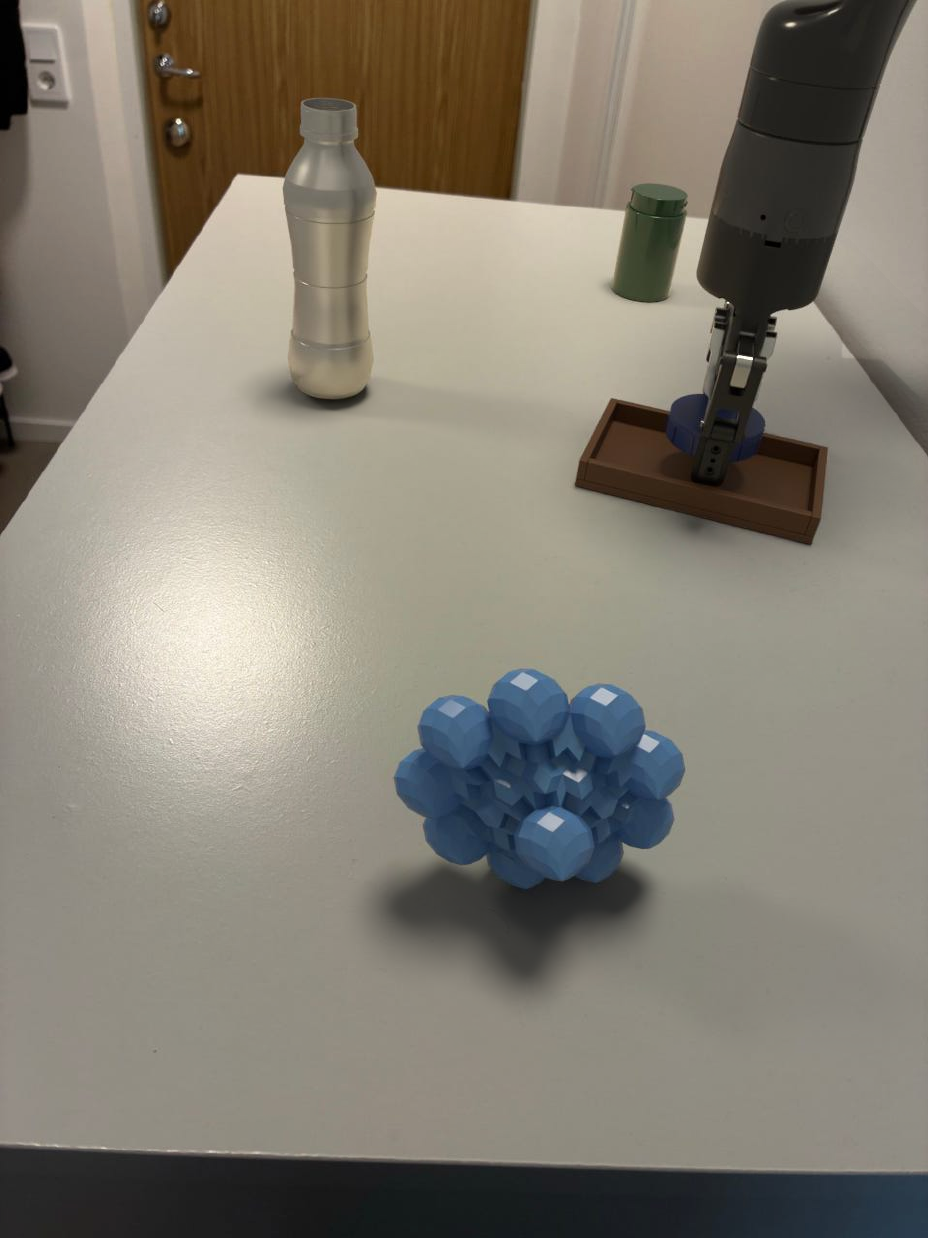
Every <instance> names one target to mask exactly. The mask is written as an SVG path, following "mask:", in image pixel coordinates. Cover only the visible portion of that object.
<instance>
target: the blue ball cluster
mask: <svg viewBox="0 0 928 1238" xmlns="http://www.w3.org/2000/svg"><path fill="white" fill-rule="evenodd" d="M486 703H487V707H488V709H487V707H485V705H483V704H482V703H479V702H477V701H475V700H474V699H471V698H470V697H468V696H464V695H456V694H450V695H446V696H441V697H438V698H436V699H435V700H434V701H433V702H432V703H431V704H429V705H428V706H427V707H425V709H423V711H422V713H421V716H420V718H419V721H418V724H417V727H416V728H417V734H418V737H419V744H420V746H421V748H418V749H414V750H413V751H411V752H410V753H408V755H406V756H405V757H404V758H403V759H401V760H400V761H399V762H398V764H397V765H398V766H397V768H396V769H395V772H394V775H393V782H394V786H395V792H396V795H397V796H398V798H399V799H400V800H401V801H402V803H403V804H404V805H405V806H406V808H407V809H408V810H410V811H412V812H414V813H416V814H417V815H418V816H421V817H422V818H424V821H423V822H422V829H423V835H424V839H425V842H426V844H427V845H428V846H429V847H430V848H431V850H432V851H433V852H434V853H435V854H436V855H437V856H438V857H441V858H442V859H444V860H446V861H447V862H449V863H452V864H455V865H459V866H468V865H472V864H474V863H477V862H478V861H481V860H482V859H483V858H484V857H486V862H487V866H488V867H489V868H490V869H491V871H492V872H493V873H494V874H495V876H496V877H497V878H498V879H500V880H502V881H503V882H505V883H507V884H509V885H510V886H513V887H515V888H519V889H523V890H528V889H532V888H533V887H536V886H537V885H540V884H541V883H542V882H544V881H545V880H546V879H548V880H552V881H557V882H564V881H567V880H570V879H571V878H573V877H575V878H577V879H579V880H582V881H586V882H589V883H600V882H602V881H604V880H606V879H607V878H609V877H610V876H611V875H612V874H613V873H614V872H616V870H617V869H618V868H619V867H620V865H621V862H622V859H623V857H624V854H625V851H624V846H623V844H624V845H626V846H628V847H631V848H635V849H639V850H649V849H652V848H654V847H656V846H658V845H660V844H661V843H662V842H663V841H664V840H665V839H666V838H667V837H668V836H669V835H670V833H671V830H672V827H673V824H674V822H675V816H674V815H675V814H674V810H673V804H672V802H671V801H670V800H669V798H668V797H670V796H671V795H672V794H673V793H674V792H675V791H676V790H677V789H678V788H679V787H680V786H681V783H682V780H683V778H684V776H685V772H686V766H685V760H684V755H683V753H682V751H681V750H680V749H679V747H678V746H677V745H676V744H675V743H674V741H673V740H672V739H671V738H668V737H666V736H664V735H662V734H660V733H658V732H657V731H655V730H647V729H646V728H647V725H646V719H645V713H644V709H643V707H642V706H641V705H640V704H639V702H638V701H637V700H636V699H635V697H634V696H633V695H632V694H631V693H629V692H628V691H626V690H624V689H622V688H621V687H618V686H616V685H614V684H612V683H611V684H610V683H595V684H592V685H588V686H586V687H584V688H582V689H581V690H580V691H579V692H578V693H576V694H575V695H574V696H573V697H572V698H571V699H570V701H569V697H568V694H567V693H566V691H565V690H564V689H563V687H561V685H560V684H559V682H557V680H556V679H554V678H552V677H551V676H548V675H547V674H545V673H543V672H541V671H539V670H537V669H535V668H518V669H517V668H516V669H513V670H509V671H508V672H507V673H506V674H504V675H503V676H501V678H499V679H498V680H497V681H496V682H494V684H492V687H491V690H490V692H489V694H488V698H487V700H486Z"/></svg>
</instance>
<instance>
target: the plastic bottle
mask: <svg viewBox="0 0 928 1238" xmlns="http://www.w3.org/2000/svg"><path fill="white" fill-rule="evenodd" d="M299 135H300V136H301V137H303V138H304V140H303V145H302V146H301V148H300V149H299V151H298V152H297V154H296V155H295V157H294V158H293V160H292V162H291V164H290V166H289V167H288V170H287V171H286V173H285V176H284V181H283V185H282V195H283V196H282V197H283V205H284V211H285V217H286V223H287V230H288V235H289V241H290V246H291V261H292V262H291V263H292V269H293V275H292V276H293V302H292V303H293V305H292V325H291V327H292V328H291V331H290V335H289V339H288V351H287V363H288V367H289V373H290V377H291V379H292V381H293V382H294V384H295V385H296V387H297V388H298V389H299V390H300V391H301V392H302V393H304V394H305V395H308V396H311V397H313V398H317V399H323V400H341V399H347V398H351V397H353V396H356V395H358V394H359V393H361V392H362V391H363V390H364V389H365V387H366V385H367V384H368V383H369V382H370V380H371V376H372V370H373V366H374V362H375V361H374V360H375V358H374V347H373V341H372V336H371V331H370V325H369V324H370V323H369V322H370V321H369V307H368V306H369V305H368V291H367V288H368V286H367V285H368V272H367V271H368V270H369V258H370V245H371V238H372V231H373V224H374V219H375V213H376V210H375V209H376V207H377V195H378V192H377V187H376V184H375V180H374V177H373V175H372V173H371V171H370V169H369V167H368V164H367V163H366V162H365V160H364V158H363V156H361V154H360V152H359V151H358V149H357V148H356V146H355V140H357V139H358V138H359V127H358V108H357V105H356V104H355V103H354V102H352V101H349V100H346V99H341V98H332V97H331V98H330V97H313V98H307V99H304V100H302V101H301V102H300V124H299Z"/></svg>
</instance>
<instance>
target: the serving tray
mask: <svg viewBox="0 0 928 1238" xmlns="http://www.w3.org/2000/svg"><path fill="white" fill-rule="evenodd" d="M669 413H670V410H666V409H662V408H658V407H653V406H649V405H645V404H641V403H636V402H631V401H627V400H623V399H617V398H614V397H611V398H610V399H609V401H608V402H607V405H606V407H605V409H604V410H603V413H602V415H601V417H600V419H599V420H598V423H597V425H596V427H595V428H594V431H593V432H592V435H591V436H590V438H589V440H588V442H587V444H586V446H585V448H584V450H583V452H582V454H581V456H580V458H579V460H578V466H577V471H576V476H575V482H574V486H575V487H580V488H583V489H586V490H592V491H596V492H598V493H603V494H607V495H611V496H615V497H619V498H623V499H627V500H631V501H636V502H639V503H643V504H648V505H652V506H655V507H660V508H663V509H668V510H672V511H676V512H680V513H683V514H688V515H691V516H695V517H699V518H703V519H708V520H712V521H716V522H720V523H724V524H728V525H732V526H735V527H740V528H744V529H748V530H752V531H754V532H755V531H756V532H760V533H764V534H766V535H767V534H768V535H771V536H772V535H773V536H776V537H780V538H784V539H788V540H792V541H796V542H801V543H803V544H808V545H812V543H813V541H814V538H815V536H816V533H817V530H818V528H819V526H820V523H821V520H822V513H823V503H824V493H825V483H826V482H825V481H826V472H827V463H828V462H827V461H828V452H829V451H828V450H829V447H828V446H825V445H820V444H816V443H812V442H808V441H803V440H798V439H795V438H794V439H793V438H789V437H785V436H781V435H776V434H774V433H773V434H772V433H768V432H764V433H763V436H762V440H761V443H760V445H759V448H758V451H757V453H756V455H754V456H752V457H751V458H749V459H746V460H743V461H738V462H729V465H728V468H727V471H726V475H725V478H724V482H723V484H722V485H720V486H718V487H714V486H709V485H703V484H698V483H694V482H693V481H692V480H691V477H690V476H691V469H692V466H693V462H694V458H695V457H694V456H692V455H689V454H687V453H685V452H683V451H681V450H680V449H678V448H677V447H675V446H674V445H673V444H672V443H671V442H670V441H669V440H668V438H667V436H666V431H665V426H666V422H667V418H668V415H669Z"/></svg>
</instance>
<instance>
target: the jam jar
mask: <svg viewBox="0 0 928 1238" xmlns="http://www.w3.org/2000/svg"><path fill="white" fill-rule="evenodd" d="M630 191H631V195H630V200H629V201H627V203H626V204H625V210H624V215H623V221H622V227H621V232H620V238H619V243H618V249H617V253H616V254H617V255H616V260H615V265H614V266H615V267H614V271H613V276H612V281H611V289H612V291H613V292H614V293H615V294H616V295H618V296H619V297H623V298H625V299H628V300H631V301H636V302H644V303H653V302H654V303H655V302H656V301H657V302H662V301H665V300H667V298H669V296H670V293H671V289H672V284H673V280H674V275H675V271H676V270H675V269H676V266H677V261H678V258H679V257H678V256H679V253H680V247H681V243H682V239H683V233H684V230H685V226H686V220H687V217H688V216H687V215H688V211H687V209H686V207H687V205H688V203H689V202H688V197H689V196H688V193H687V192H686V191H685V190H684V189H683V190H682V189H681V188H678V187H675V186H672V185H668V184H664V183H663V184H662V183H649V182H647V183H639V184H636V185H633V186H632V187H631V189H630Z"/></svg>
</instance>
